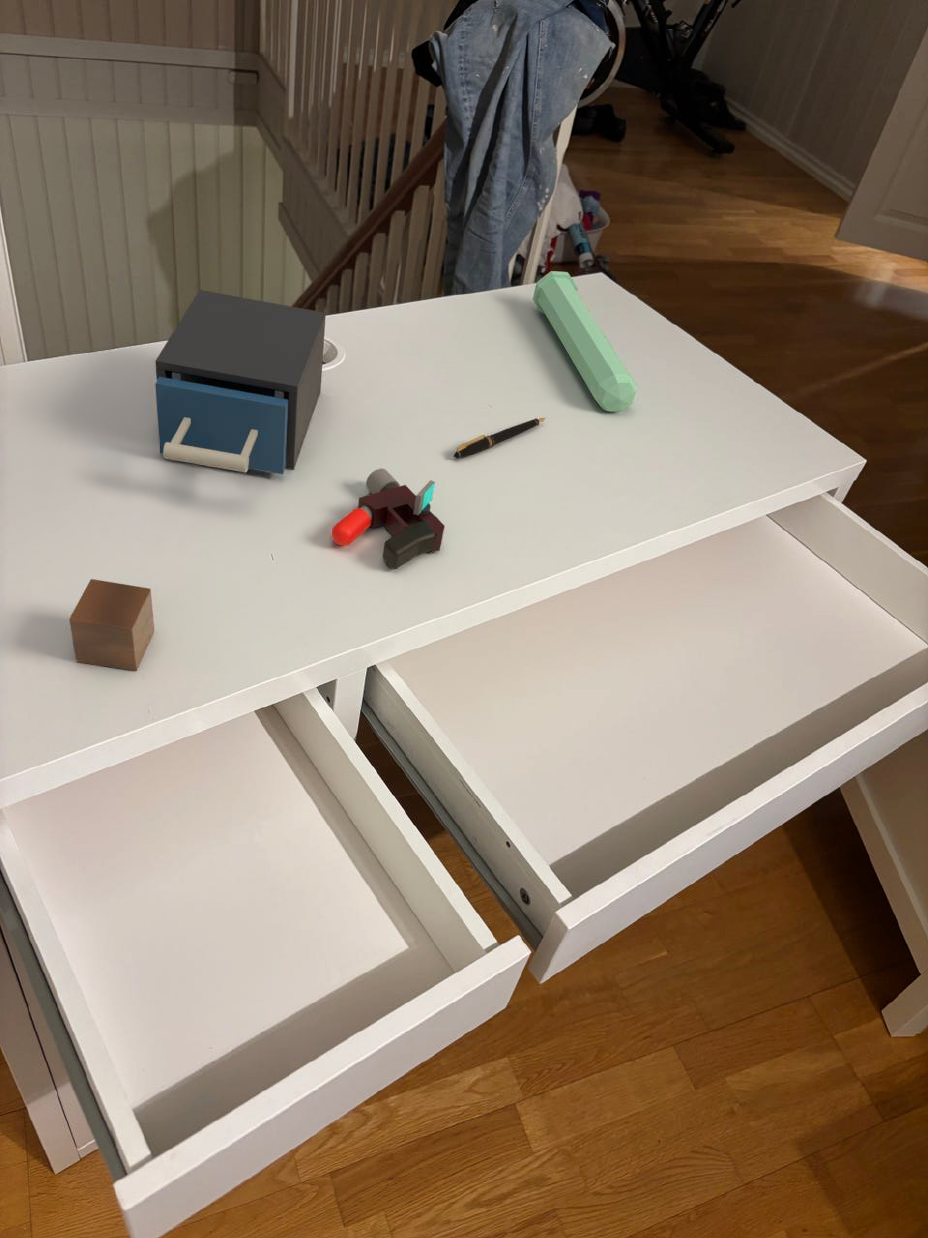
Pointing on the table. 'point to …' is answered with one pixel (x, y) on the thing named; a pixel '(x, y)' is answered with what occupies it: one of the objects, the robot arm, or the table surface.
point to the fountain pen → (494, 438)
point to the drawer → (222, 423)
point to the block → (112, 624)
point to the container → (585, 341)
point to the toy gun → (394, 519)
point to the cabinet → (252, 352)
